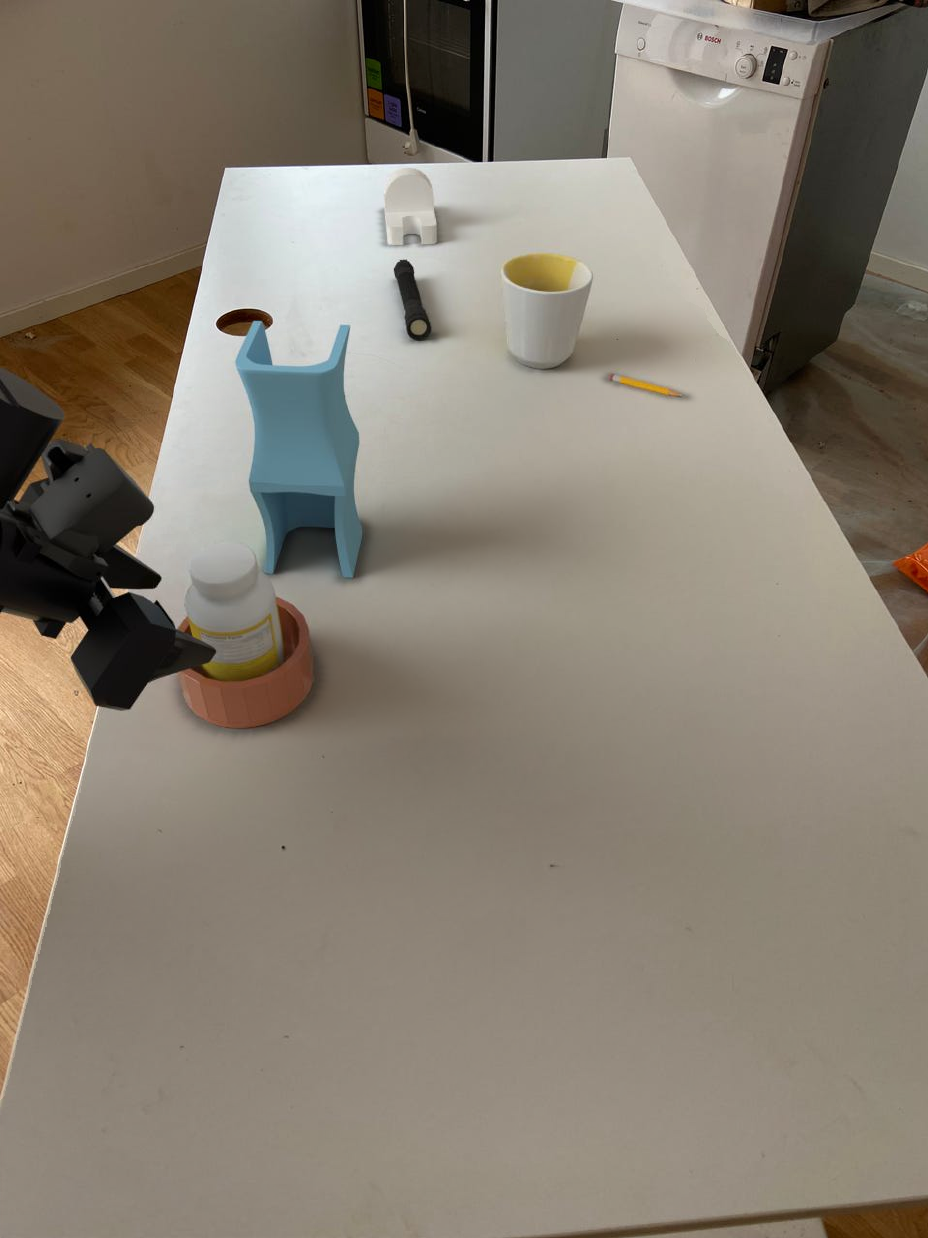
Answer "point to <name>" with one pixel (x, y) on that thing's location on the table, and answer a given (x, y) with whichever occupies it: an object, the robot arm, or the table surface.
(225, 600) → the pill bottle
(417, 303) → the flashlight
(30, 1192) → the table surface
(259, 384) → the stacked u-channel piece
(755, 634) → the table surface
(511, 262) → the mug
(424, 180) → the slotted bracket
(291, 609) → the bowl
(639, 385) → the pencil
